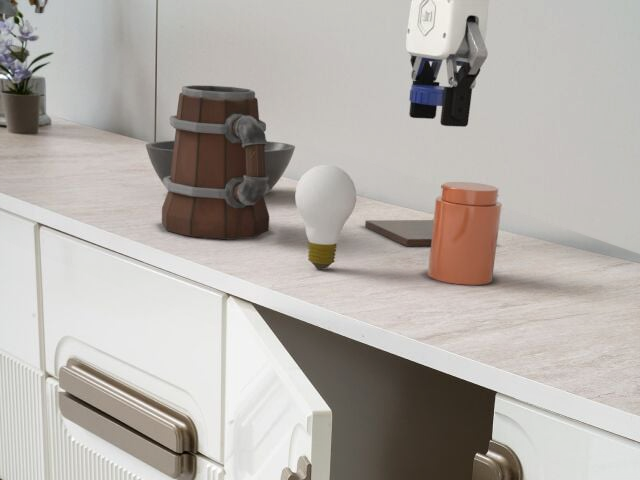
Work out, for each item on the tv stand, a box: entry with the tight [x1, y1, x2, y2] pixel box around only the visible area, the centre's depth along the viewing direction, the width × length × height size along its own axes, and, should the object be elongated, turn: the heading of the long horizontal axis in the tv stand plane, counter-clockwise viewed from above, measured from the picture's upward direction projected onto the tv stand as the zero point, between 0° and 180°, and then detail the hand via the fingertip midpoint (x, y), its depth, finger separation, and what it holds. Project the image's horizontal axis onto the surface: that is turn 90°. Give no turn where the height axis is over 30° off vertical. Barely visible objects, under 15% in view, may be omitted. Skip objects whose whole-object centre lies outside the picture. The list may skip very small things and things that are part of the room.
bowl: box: [145, 139, 296, 196], centre depth 148 cm, size 12×22×6 cm, turn 130°
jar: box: [427, 181, 503, 286], centre depth 110 cm, size 6×6×9 cm
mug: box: [161, 84, 270, 240], centre depth 122 cm, size 16×12×15 cm
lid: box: [408, 84, 447, 107], centre depth 125 cm, size 7×7×2 cm
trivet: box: [364, 219, 434, 247], centre depth 131 cm, size 11×11×1 cm
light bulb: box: [294, 164, 357, 270], centre depth 109 cm, size 6×6×10 cm
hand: (437, 120), depth 126 cm, fingers closed on lid, 6 cm apart
